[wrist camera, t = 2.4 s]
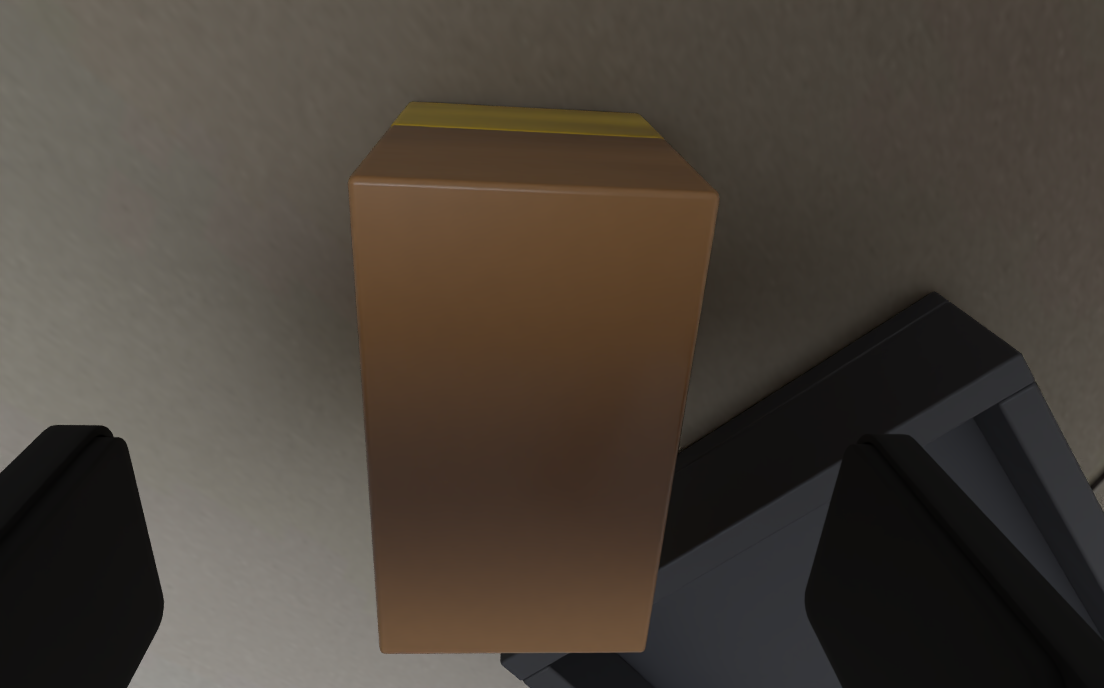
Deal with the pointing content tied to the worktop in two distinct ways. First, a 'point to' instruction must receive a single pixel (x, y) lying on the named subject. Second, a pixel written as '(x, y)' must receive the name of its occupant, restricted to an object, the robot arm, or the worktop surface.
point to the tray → (805, 493)
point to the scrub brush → (523, 371)
